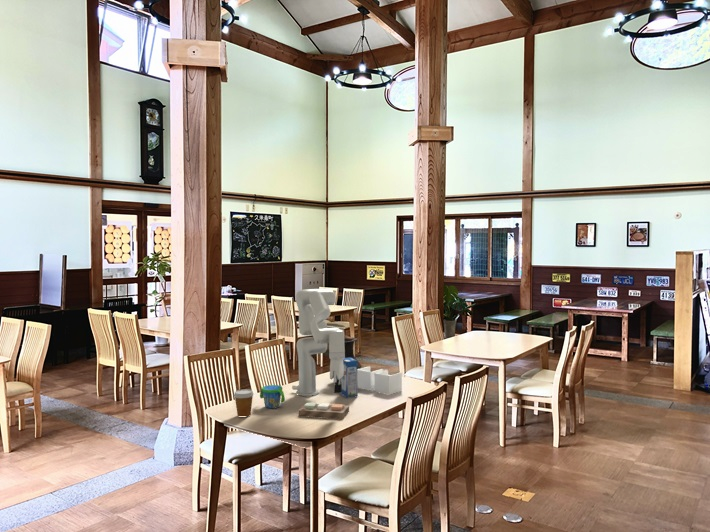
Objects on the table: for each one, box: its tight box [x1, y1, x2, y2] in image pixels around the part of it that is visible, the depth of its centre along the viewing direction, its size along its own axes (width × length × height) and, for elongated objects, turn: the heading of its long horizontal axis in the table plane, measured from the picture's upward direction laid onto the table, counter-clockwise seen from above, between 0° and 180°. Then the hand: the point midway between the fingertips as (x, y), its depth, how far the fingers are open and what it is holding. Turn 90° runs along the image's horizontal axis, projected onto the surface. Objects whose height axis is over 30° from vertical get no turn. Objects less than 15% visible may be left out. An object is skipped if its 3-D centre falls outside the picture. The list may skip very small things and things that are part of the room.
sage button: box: [303, 402, 318, 409], centre depth 270 cm, size 5×5×3 cm
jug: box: [344, 333, 363, 369], centre depth 332 cm, size 21×18×30 cm
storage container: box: [357, 366, 403, 396], centre depth 314 cm, size 25×11×11 cm, turn 46°
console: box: [297, 403, 350, 420], centre depth 268 cm, size 23×12×3 cm, turn 77°
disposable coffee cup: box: [233, 388, 254, 417], centre depth 267 cm, size 10×10×12 cm
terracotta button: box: [331, 403, 345, 411], centre depth 267 cm, size 5×5×3 cm
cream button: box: [318, 402, 331, 410], centre depth 268 cm, size 5×5×3 cm
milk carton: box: [340, 357, 359, 399], centre depth 302 cm, size 10×6×20 cm, turn 22°
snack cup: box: [259, 384, 286, 409], centre depth 282 cm, size 16×10×10 cm
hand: (337, 392), depth 266 cm, fingers closed
